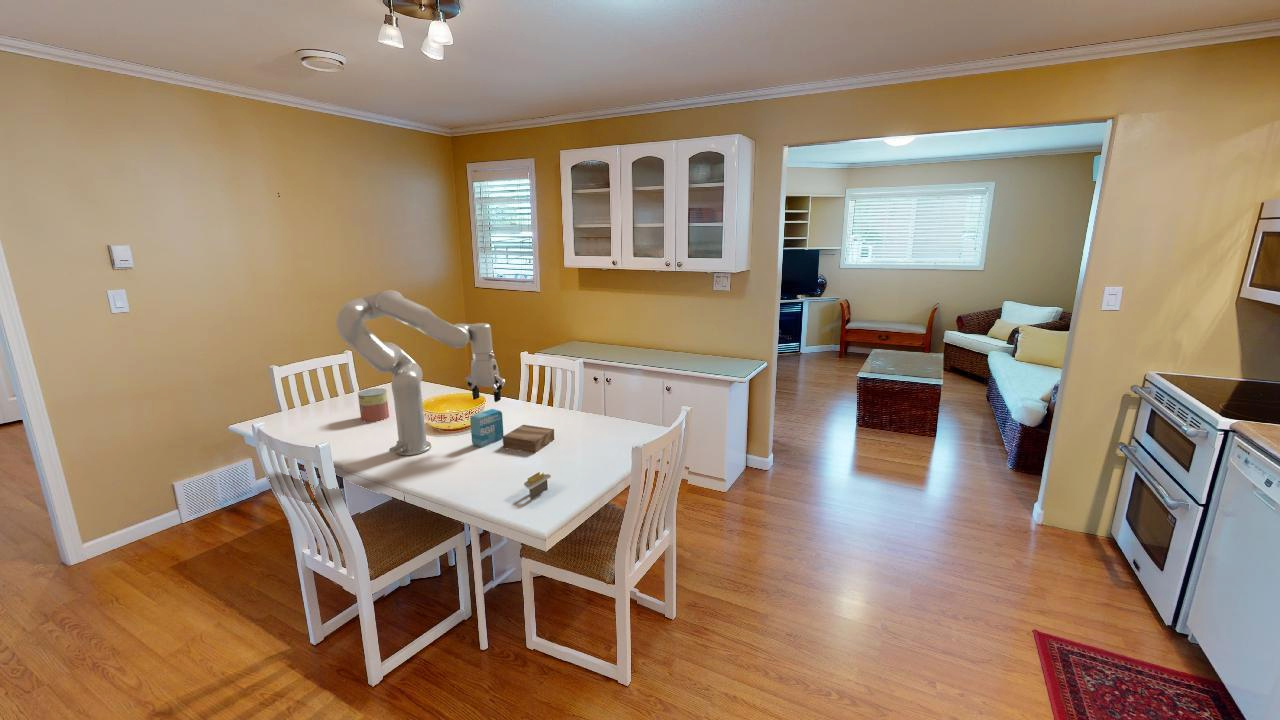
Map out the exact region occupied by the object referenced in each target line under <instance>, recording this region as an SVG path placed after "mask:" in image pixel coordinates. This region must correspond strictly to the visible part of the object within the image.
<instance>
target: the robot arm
mask: <svg viewBox="0 0 1280 720" xmlns="http://www.w3.org/2000/svg"><path fill="white" fill-rule="evenodd" d="M384 316H385V317H388V318H390V319H392V320H395V321H397V322H399V323H401V324H404V325H406V326H408V327H411V328H413V329H415V330H418V331H419V332H420V333H422V334H424V335H426V336H428V337H429V338H432V339H434V340H435V341H437V342H440V343H442V344H444V345H446V346H449V347H451V348H456V349H461V348H462V349H463V348H465V347H466V346H467V345H468V344H469V343H471V344H470V345H471V355H472V356H471V357H472V360H471V365H470V374H469V375H467V376H466V377H464V379H465V381H466V382H467V385H468V387H469V388H470V389H469V390H471V394H472V400H474V401H476V400H477V399H479V398H480V389H479V387H489V388H492V389H493V401H494V403H498V402H499V401H501V399H502V396H501V395H502V394H501V391H502V389H503V388H504V387H505V383H506V380H505V378H503V377H502V376H500V371H499V367H498V363H497V360H496V359H495V358H496V354H495V353H494V348H493V336H492V328H491V325H490V324H489V323H486V322H479V323H455V324H452V323H450V322H449V321H446V320H444V319H442V318H440V317H439V316H437V315H436V314H435V313H433V311H432V310H431V309H429V308H428V307H426V306H424V305H421V304H420V303H417V302H415V301H412V300H411V299H408V298H405V297H404V296H403V295H402V294H401V293H400V292H399V291H398V290H394V289H388V290H384V291H380V292H377V293H374V294H369V295H366V296H362V297H359V298H356V299H353V300H351V301H349V302H347V303H346V304H344V305H343V306H341V308H340V310H339V311H338V312H337V316H336V322H335V326H336V330H337V333H338V336H339V337H340V338H341V339H342V340H343V341H344V342H345V343H346V344H347V345H348V346H349V347H350V348H352V350H354V351H355V352H356V353H357V354H358V355H359V356H360V357H361V358H362V359H363V360H364V361H365V362H366V363H368V365H370V366H371V367H372V368H373V369H374V370H376V371H377V372H379V373H389V374H391V376H392V378H391V391H392V396H393V401H394V409H395V410H394V411H395V418H396V426H397V428H396V429H397V436H398V437H397V438H398V440H397V441H396V444H395V445H394V446H391V447H390V448H389V449H388V451H389V452H390V453H391V454H393V453H396V454H397V455H400V456H414V455H420V454H422V453H425V452H428V451H429V450H430V449H431V448H432V443H431V442H430V441H428V440H427V435H426V423H425V416H424V415H425V414H424V402H423V395H422V386H421V385H422V384H421V383H422V380H423V378H424V377H423V376H424V374H423V373H424V372H423V370H422V368H421V366H420V365H419V364H418V363H417V362H416V361H415V360H414V359H413V358H412V357H411V356H409V355H408V354H407V353H406V352H405V351H404V350H403V349H402V348H401V347H399V346H398V345H397V344H395V343H393V342H389V341H382V340H380V338H379V337H377V335H375V334H374V333H373V332H372V331H371V330H369V329H368V328H367V327H366V325H365V323H366V322H367V321H370V320H373V319H377V318H381V317H384ZM478 386H479V387H478Z"/></svg>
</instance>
